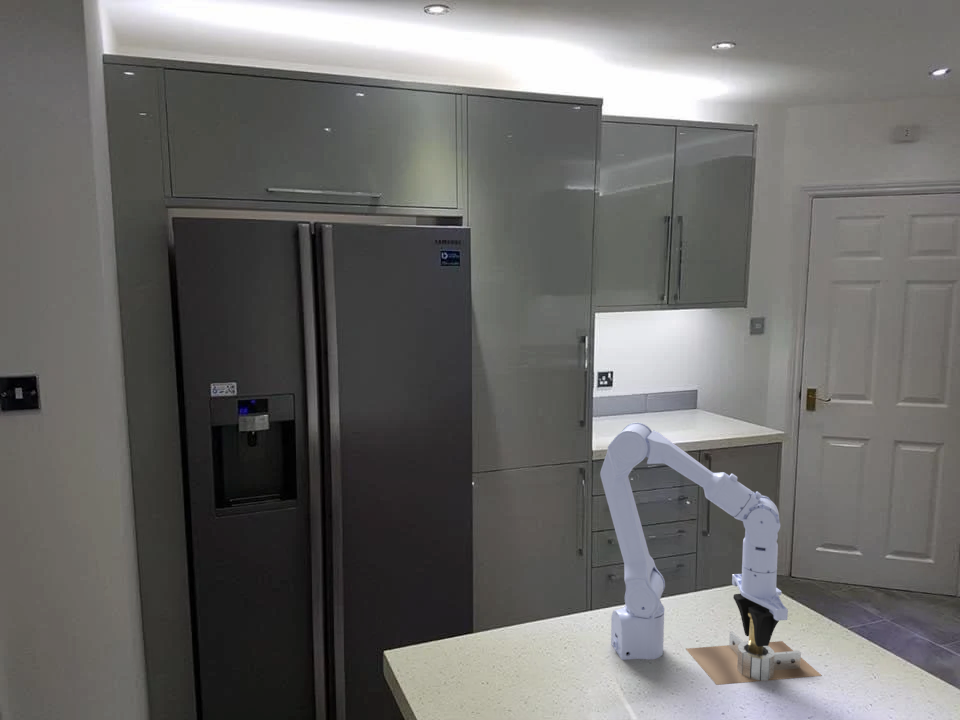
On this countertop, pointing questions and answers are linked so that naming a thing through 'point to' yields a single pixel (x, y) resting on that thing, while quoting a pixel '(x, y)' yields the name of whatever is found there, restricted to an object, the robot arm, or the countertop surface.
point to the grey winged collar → (762, 660)
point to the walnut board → (724, 662)
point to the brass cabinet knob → (753, 639)
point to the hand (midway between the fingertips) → (756, 640)
